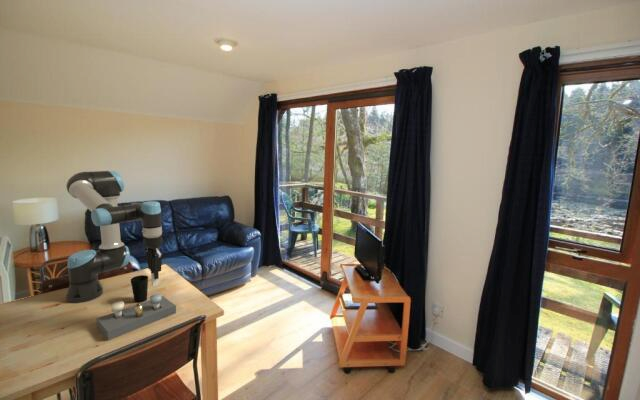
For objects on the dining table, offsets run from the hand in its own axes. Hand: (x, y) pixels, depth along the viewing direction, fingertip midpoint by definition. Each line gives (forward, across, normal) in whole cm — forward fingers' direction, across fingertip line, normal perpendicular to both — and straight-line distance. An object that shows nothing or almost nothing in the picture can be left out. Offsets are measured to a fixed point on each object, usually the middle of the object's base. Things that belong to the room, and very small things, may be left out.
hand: (155, 284), depth 139 cm
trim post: (+12, +1, -8) cm, 14 cm away
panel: (+16, -3, -7) cm, 17 cm away
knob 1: (+12, -5, -14) cm, 19 cm away
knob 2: (+13, 0, 0) cm, 13 cm away
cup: (+16, -21, +1) cm, 26 cm away
